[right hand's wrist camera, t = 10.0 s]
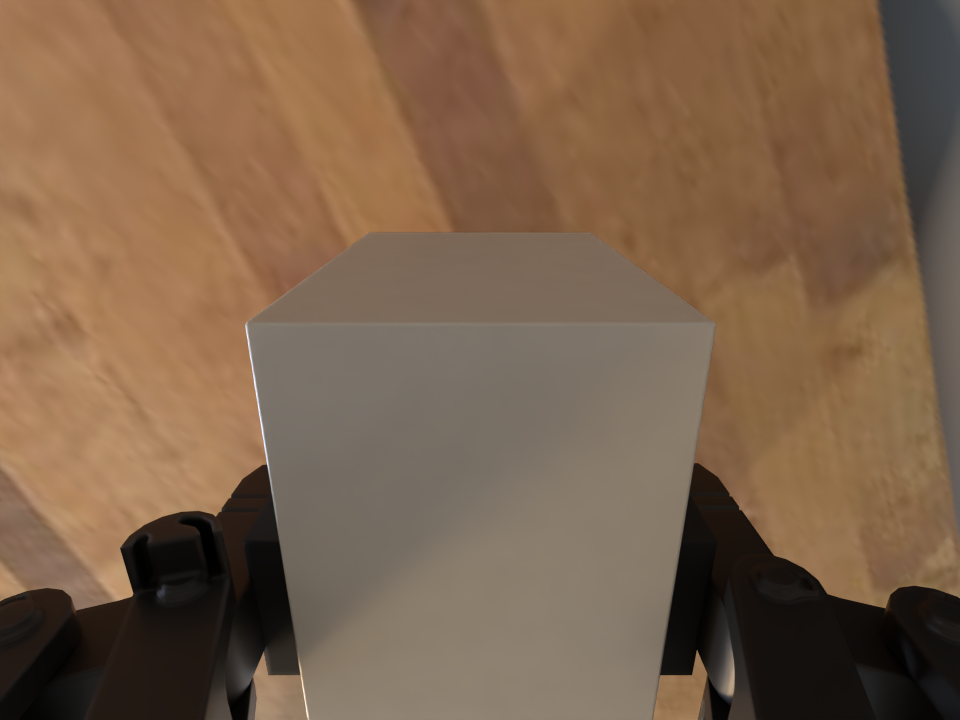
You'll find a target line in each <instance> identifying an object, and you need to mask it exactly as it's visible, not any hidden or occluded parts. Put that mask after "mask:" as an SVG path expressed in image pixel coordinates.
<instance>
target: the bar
mask: <svg viewBox="0 0 960 720" xmlns="http://www.w3.org/2000/svg"><path fill="white" fill-rule="evenodd" d="M245 327H246V333H247V340H248V346H249V352H250V358H251V365H252V371H253V377H254V384H255V390H256V396H257V403H258V409H259V415H260V422H261V428H262V434H263V441H264V447H265V453H266V459H267V466H268V472H269V478H270V485H271V491H272V497H273V504H274V510H275V516H276V523H277V529H278V535H279V542H280V548H281V554H282V560H283V567H284V573H285V579H286V586H287V592H288V598H289V605H290V611H291V617H292V624H293V630H294V636H295V643H296V649H297V655H298V661H299V668H300V674H301V680H302V687H303V693H304V699H305V706H306V712H307V718H308V720H653V715H654V709H655V703H656V696H657V690H658V684H659V678H660V671H661V665H662V659H663V653H664V646H665V640H666V634H667V628H668V622H669V615H670V609H671V603H672V597H673V590H674V584H675V578H676V572H677V566H678V559H679V553H680V547H681V541H682V534H683V528H684V522H685V516H686V509H687V503H688V497H689V491H690V485H691V478H692V472H693V466H694V460H695V453H696V447H697V441H698V435H699V428H700V422H701V416H702V410H703V404H704V397H705V391H706V385H707V379H708V372H709V366H710V360H711V354H712V347H713V341H714V335H715V329H716V325H715V322H713V321H712V320H710V319H709V318H708V317H706V316H705V315H704V314H702V313H701V312H699V311H698V310H697V309H695V308H694V307H693V306H691V305H690V304H688V303H687V302H686V301H684V300H683V299H682V298H680V297H679V296H678V295H676V294H675V293H673V292H672V291H671V290H669V289H668V288H667V287H665V286H664V285H662V284H661V283H660V282H658V281H657V280H656V279H654V278H653V277H651V276H650V275H649V274H647V273H646V272H645V271H643V270H642V269H640V268H639V267H638V266H636V265H635V264H634V263H632V262H631V261H630V260H628V259H627V258H625V257H624V256H623V255H621V254H620V253H619V252H617V251H616V250H614V249H613V248H612V247H610V246H609V245H608V244H606V243H605V242H603V241H602V240H601V239H599V238H598V237H597V236H595V235H594V234H592V233H477V232H370V233H368V234H366V235H365V236H364V237H362V238H361V239H359V240H358V241H357V242H355V243H354V244H353V245H351V246H350V247H349V248H347V249H346V250H344V251H343V252H342V253H340V254H339V255H338V256H336V257H335V258H334V259H332V260H331V261H330V262H328V263H327V264H325V265H324V266H323V267H321V268H320V269H319V270H317V271H316V272H315V273H313V274H312V275H310V276H309V277H308V278H306V279H305V280H304V281H302V282H301V283H300V284H298V285H297V286H295V287H294V288H293V289H291V290H290V291H289V292H287V293H286V294H285V295H283V296H282V297H281V298H279V299H278V300H276V301H275V302H274V303H272V304H271V305H270V306H268V307H267V308H266V309H264V310H263V311H261V312H260V313H259V314H257V315H256V316H255V317H253V318H252V319H251V320H249V321H248V322H246V325H245Z"/></svg>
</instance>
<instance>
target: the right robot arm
mask: <svg viewBox="0 0 960 720" xmlns="http://www.w3.org/2000/svg"><path fill="white" fill-rule="evenodd" d="M120 549H121V553H122V556H123V560H124V563H125V566H126V570H127V573H128V576H129V580H130V583H131V587H132V590H133V593H134V594H133V596H132V597H130V598H126V599H123V600H120V601H116V602H111V603H107V604H103V605H98V606H94V607H89V608H85V609H81V610H75V608H74V605H73V602H72V599H71V597H70V596H69V595H68V594H66V593H65V592H64V591H63V590H58V589H50V588H44V589H38V590H31V591H26V592H23V593H20V594H17V595H15V596H12V597H9V598H6V599H4V600H2V601H0V720H254V719H255V709H256V699H257V697H256V690H255V684H254V679H253V675H254V673H255V670H256V668H257V666H258V663H259V661H260V659H261V656H262V654H263V652H264V655H265V660H266V665H267V670H268V675H301V674H300V668H299V661H298V655H297V649H296V643H295V636H294V630H293V624H292V617H291V611H290V605H289V598H288V592H287V586H286V579H285V573H284V567H283V560H282V554H281V548H280V542H279V535H278V529H277V523H276V516H275V510H274V504H273V497H272V491H271V485H270V478H269V472H268V466H267V465H262V466H260V467H259V468H258V469H256V470H255V471H253V472H252V473H251V474H249V475H248V476H246V477H245V478H243V479H242V481H241V482H240V484H239V485H238V486H237V488H236V489H235V491H234V492H233V493H232V495H231V498H229V499H228V501H227V502H226V503H225V505H224V506H223V508H222V512H219V513H218V515H217V516H216V517H215V516H214V515H213V514H209V513H205V512H201V511H191V512H180V513H176V514H172V515H168V516H164V517H161V518H159V519H157V520H155V521H152V522H150V523H148V524H146V525H144V526H142V527H141V528H140V529H138V530H137V531H136V532H134V533H133V534H131V535H130V536H129V537H128V538H127V540H126V541H125V542H124V544H123V545H122V546H121V548H120ZM697 650H698V653H699V655H700V657H701V660H702V662H703V664H704V667H705V669H706V671H707V674H708V675H707V679H706V684H705V689H704V694H703V698H702V703H701V708H700V713H699V718H698V720H960V598H958V597H956V596H953V595H951V594H948V593H945V592H942V591H939V590H936V589H932V588H925V587H919V586H909V587H902V588H898V589H897V590H896V591H895V592H893V593H892V594H891V595H890V598H889V600H888V603H887V606H886V609H885V608H881V607H877V606H872V605H868V604H863V603H859V602H855V601H850V600H846V599H842V598H838V597H835V596H832V595H828V594H827V593H826V591H825V590H824V588H823V587H822V585H821V584H820V582H819V581H818V580H817V579H816V578H815V577H814V576H812V575H811V574H810V573H809V572H808V571H806V570H805V569H804V568H802V567H800V566H798V565H796V564H794V563H792V562H791V561H789V560H787V559H783V558H780V557H776V556H774V555H773V554H772V552H771V551H770V549H769V548H768V547H767V545H766V544H765V542H764V541H763V540H762V538H761V537H760V535H759V534H758V533H757V531H756V530H755V528H754V527H753V526H752V524H751V523H750V521H749V520H748V519H747V517H746V516H745V514H744V513H743V512H742V510H739V506H738V505H737V503H736V502H735V501H734V499H733V498H732V497H730V496H729V492H728V491H727V489H726V488H725V487H724V485H723V484H722V482H721V481H720V480H719V478H718V477H717V476H715V475H714V474H713V473H711V472H710V471H708V470H707V469H705V468H704V467H703V466H701V465H700V464H698V463H694V466H693V472H692V478H691V485H690V491H689V497H688V503H687V509H686V516H685V522H684V528H683V534H682V541H681V547H680V553H679V559H678V566H677V572H676V578H675V584H674V590H673V597H672V603H671V609H670V615H669V622H668V628H667V634H666V640H665V646H664V653H663V659H662V665H661V671H660V675H692V672H693V667H694V662H695V657H696V651H697Z"/></svg>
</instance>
